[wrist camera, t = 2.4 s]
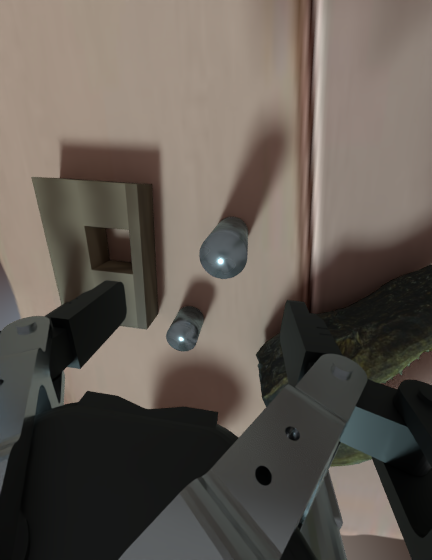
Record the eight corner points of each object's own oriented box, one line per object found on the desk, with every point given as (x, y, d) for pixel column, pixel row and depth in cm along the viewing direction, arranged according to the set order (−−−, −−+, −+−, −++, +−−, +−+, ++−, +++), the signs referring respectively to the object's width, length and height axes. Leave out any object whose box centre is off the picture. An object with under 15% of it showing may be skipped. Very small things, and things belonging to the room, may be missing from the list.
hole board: (151, 184, 27) (64, 183, 14) (158, 314, 34) (103, 391, 21) (59, 178, 28) (-97, 172, 16) (83, 304, 35) (-11, 372, 23)
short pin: (204, 307, 33) (197, 327, 28) (203, 330, 34) (196, 353, 30) (177, 304, 33) (165, 323, 29) (177, 327, 35) (166, 349, 30)
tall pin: (249, 218, 27) (250, 234, 18) (246, 250, 29) (244, 281, 20) (216, 215, 28) (200, 230, 18) (214, 247, 29) (198, 276, 20)
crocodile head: (297, 442, 34) (261, 494, 21) (262, 332, 41) (219, 324, 28) (562, 411, 23) (797, 482, 10) (451, 267, 30) (515, 209, 17)
